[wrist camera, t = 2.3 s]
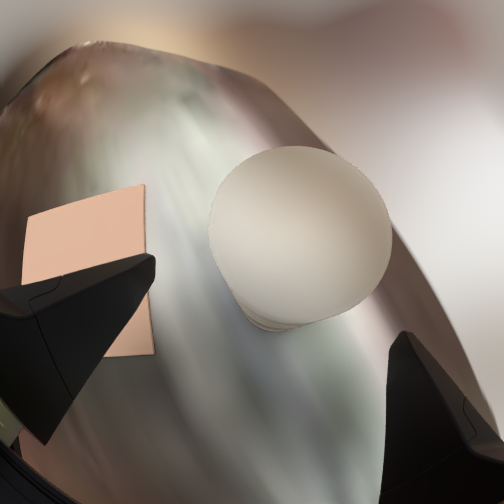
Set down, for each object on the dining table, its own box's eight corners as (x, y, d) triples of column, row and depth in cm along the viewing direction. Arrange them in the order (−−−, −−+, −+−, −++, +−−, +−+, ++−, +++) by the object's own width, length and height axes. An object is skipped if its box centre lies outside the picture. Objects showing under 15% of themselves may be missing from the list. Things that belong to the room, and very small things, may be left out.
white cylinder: (271, 347, 18) (295, 362, 6) (223, 288, 19) (172, 211, 7) (328, 298, 19) (422, 236, 7) (280, 243, 20) (305, 122, 8)
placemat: (155, 353, 18) (153, 353, 17) (26, 356, 17) (24, 356, 17) (144, 185, 22) (143, 183, 21) (30, 218, 21) (28, 217, 21)
